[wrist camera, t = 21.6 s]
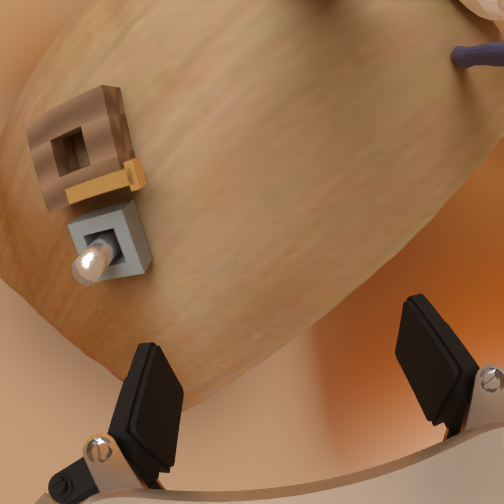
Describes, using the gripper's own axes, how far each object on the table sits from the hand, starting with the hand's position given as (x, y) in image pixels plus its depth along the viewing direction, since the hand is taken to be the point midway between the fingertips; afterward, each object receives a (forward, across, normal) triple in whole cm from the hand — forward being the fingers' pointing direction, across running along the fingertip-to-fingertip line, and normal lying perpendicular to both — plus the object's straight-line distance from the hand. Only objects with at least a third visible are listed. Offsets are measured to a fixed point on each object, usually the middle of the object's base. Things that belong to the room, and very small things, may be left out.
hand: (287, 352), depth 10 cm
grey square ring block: (+33, +23, +5) cm, 41 cm away
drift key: (+27, +18, -5) cm, 33 cm away
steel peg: (+33, +23, +5) cm, 41 cm away
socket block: (+33, +23, -10) cm, 42 cm away
